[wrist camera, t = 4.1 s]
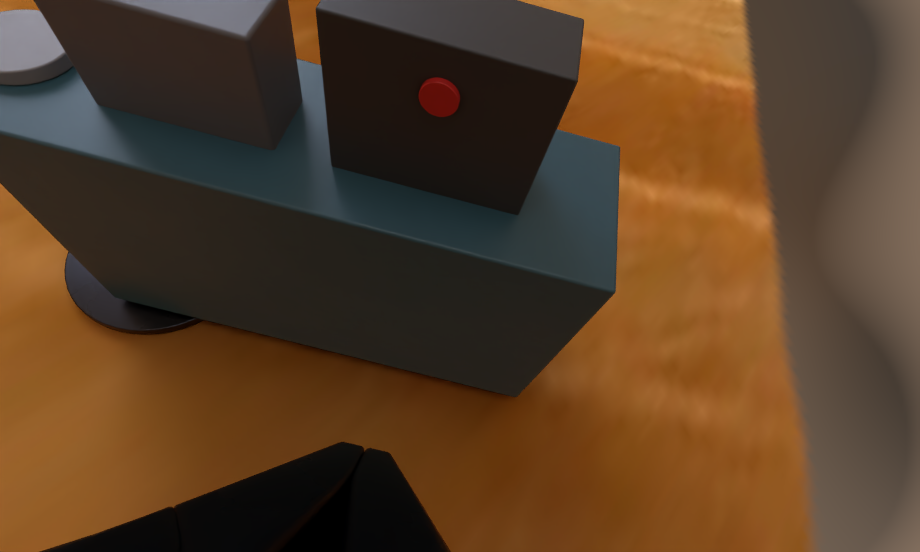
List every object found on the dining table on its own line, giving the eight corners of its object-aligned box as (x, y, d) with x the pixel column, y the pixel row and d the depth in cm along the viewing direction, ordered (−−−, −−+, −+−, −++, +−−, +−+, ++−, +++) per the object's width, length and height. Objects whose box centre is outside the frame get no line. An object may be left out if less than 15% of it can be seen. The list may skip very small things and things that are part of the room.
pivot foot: (210, 353, 19) (207, 350, 18) (28, 309, 18) (22, 304, 18) (280, 215, 22) (278, 209, 22) (129, 176, 22) (125, 170, 22)
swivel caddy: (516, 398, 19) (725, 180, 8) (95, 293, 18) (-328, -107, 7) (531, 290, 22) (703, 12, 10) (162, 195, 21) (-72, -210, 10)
